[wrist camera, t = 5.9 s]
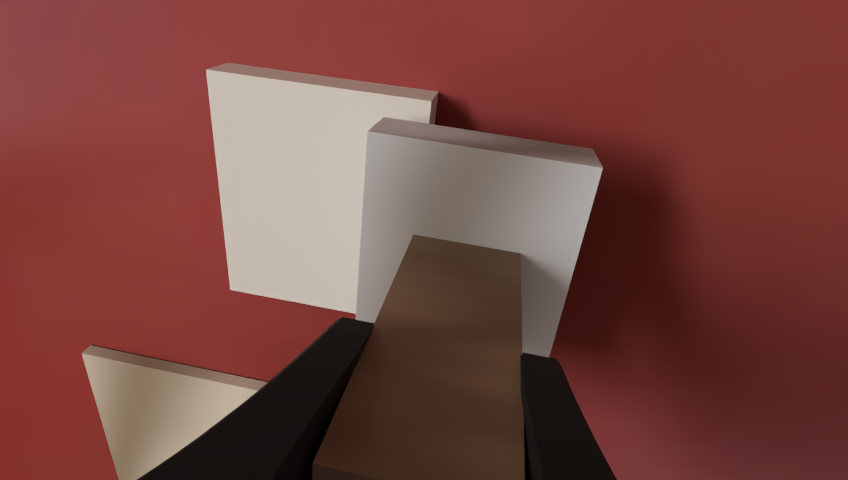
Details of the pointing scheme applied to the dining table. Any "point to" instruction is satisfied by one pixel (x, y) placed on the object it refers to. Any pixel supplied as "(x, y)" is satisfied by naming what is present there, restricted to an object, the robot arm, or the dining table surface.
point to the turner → (455, 298)
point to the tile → (298, 176)
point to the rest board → (157, 405)
